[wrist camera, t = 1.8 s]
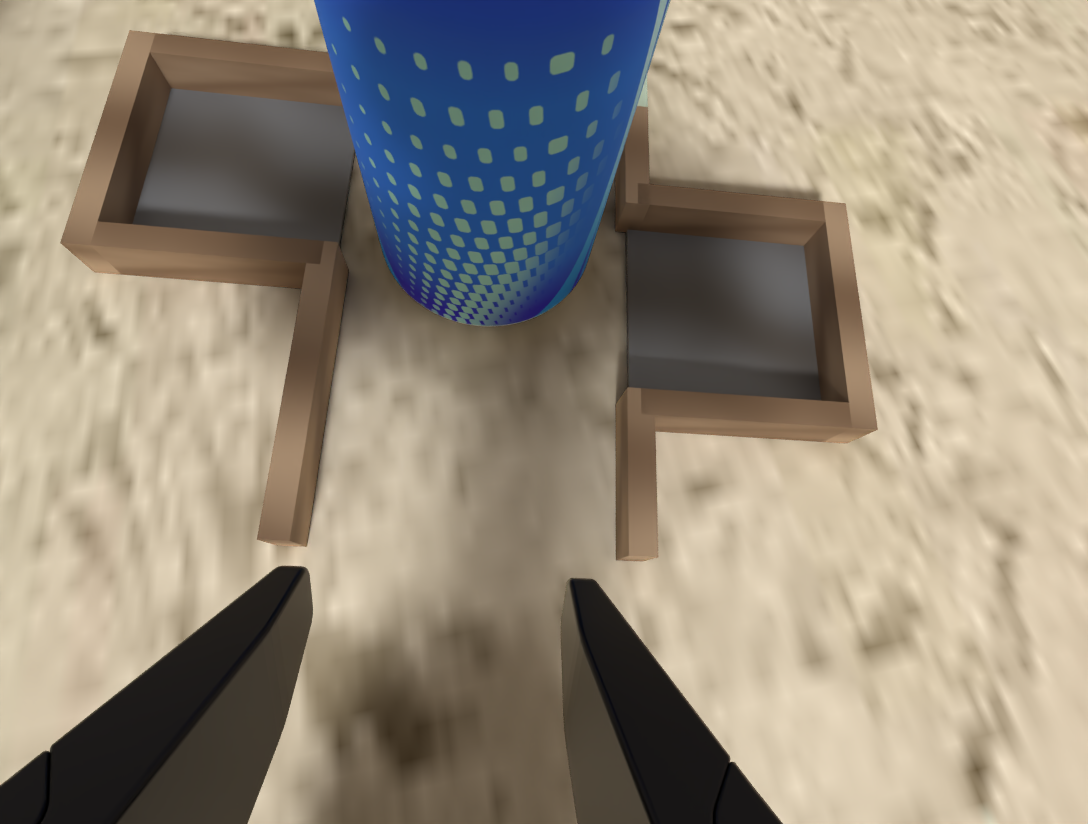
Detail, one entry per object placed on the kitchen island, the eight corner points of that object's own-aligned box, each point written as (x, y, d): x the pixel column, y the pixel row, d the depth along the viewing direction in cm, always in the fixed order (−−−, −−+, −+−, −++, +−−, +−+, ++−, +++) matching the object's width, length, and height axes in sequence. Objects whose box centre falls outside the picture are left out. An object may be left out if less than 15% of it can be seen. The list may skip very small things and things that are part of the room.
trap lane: (862, 570, 23) (938, 564, 19) (15, 533, 20) (-91, 517, 16) (793, 14, 32) (836, -66, 28) (194, -62, 29) (151, -162, 25)
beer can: (361, 317, 24) (158, -180, 9) (412, 149, 27) (325, -455, 11) (568, 359, 24) (716, -48, 9) (598, 189, 27) (752, -344, 12)
